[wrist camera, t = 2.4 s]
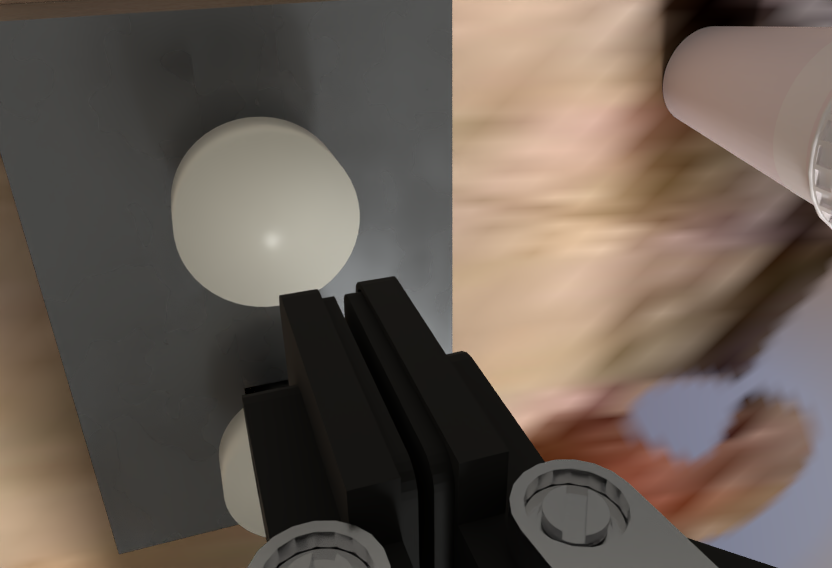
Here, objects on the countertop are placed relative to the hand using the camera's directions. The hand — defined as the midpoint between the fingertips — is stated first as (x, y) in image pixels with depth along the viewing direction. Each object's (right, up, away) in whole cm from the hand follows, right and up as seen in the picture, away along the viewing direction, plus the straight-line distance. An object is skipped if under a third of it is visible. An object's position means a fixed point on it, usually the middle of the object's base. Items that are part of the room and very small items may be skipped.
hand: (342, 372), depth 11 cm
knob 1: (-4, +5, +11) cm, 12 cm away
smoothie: (+12, +9, +18) cm, 24 cm away
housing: (-5, +2, +15) cm, 16 cm away
